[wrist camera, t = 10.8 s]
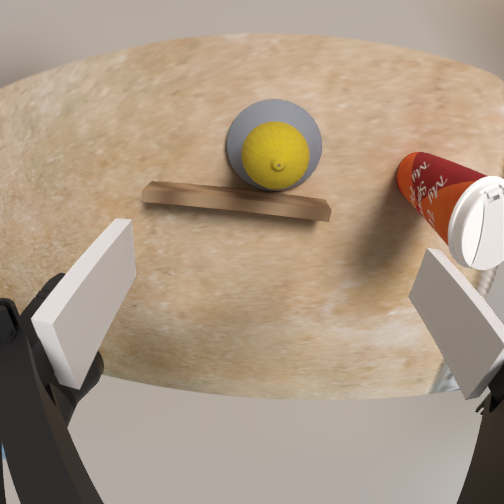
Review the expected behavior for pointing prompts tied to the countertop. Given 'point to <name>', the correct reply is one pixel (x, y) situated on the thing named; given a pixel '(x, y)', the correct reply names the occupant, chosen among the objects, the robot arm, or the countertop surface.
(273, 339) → the countertop surface
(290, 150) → the lemon
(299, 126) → the coaster
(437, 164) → the paper cup
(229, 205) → the divider
